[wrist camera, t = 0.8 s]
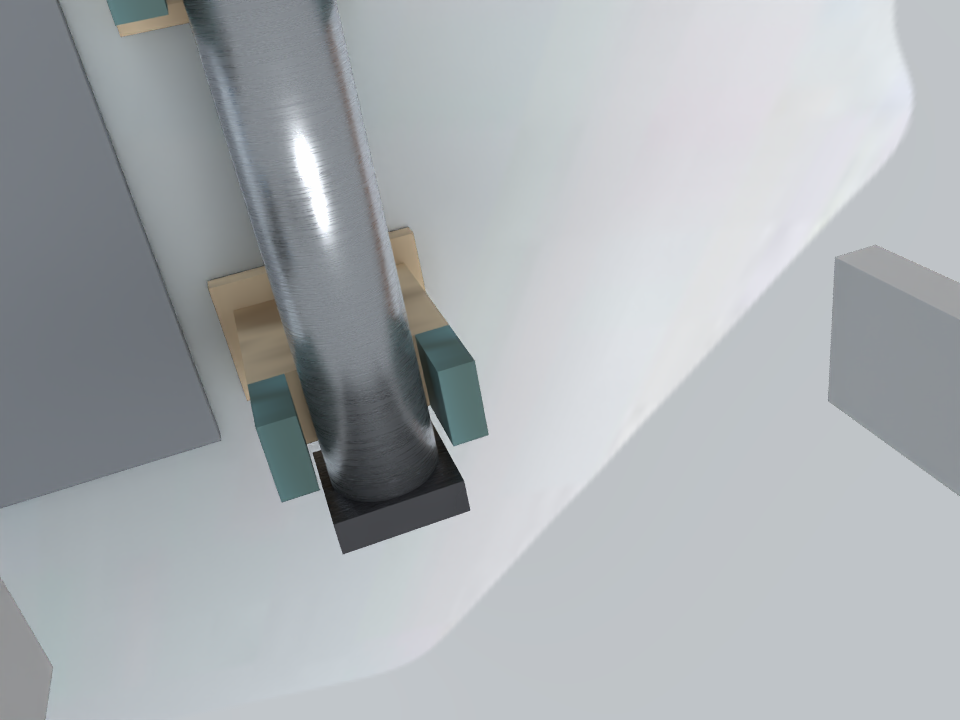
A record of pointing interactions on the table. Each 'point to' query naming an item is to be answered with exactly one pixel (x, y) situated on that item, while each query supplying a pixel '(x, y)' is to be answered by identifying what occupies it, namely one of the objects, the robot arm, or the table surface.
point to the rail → (328, 259)
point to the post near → (146, 15)
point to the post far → (277, 383)
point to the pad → (77, 284)
